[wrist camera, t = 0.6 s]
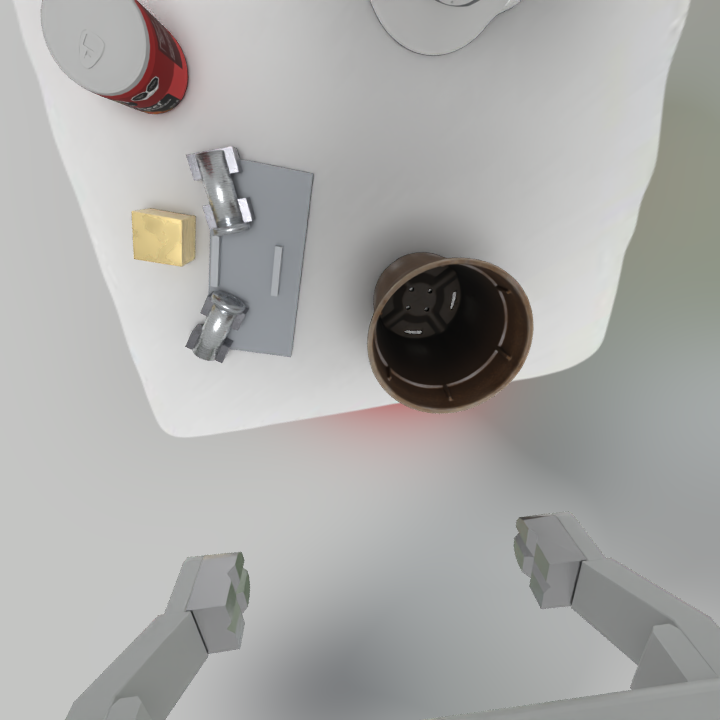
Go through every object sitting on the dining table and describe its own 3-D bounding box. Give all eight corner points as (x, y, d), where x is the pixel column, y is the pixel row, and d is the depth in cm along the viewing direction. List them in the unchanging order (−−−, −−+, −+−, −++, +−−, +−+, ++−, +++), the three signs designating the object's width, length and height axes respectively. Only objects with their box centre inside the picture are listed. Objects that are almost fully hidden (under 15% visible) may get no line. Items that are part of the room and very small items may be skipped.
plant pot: (360, 358, 55) (372, 422, 41) (351, 241, 49) (362, 266, 34) (472, 347, 56) (524, 406, 42) (479, 230, 49) (543, 250, 35)
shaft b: (226, 355, 52) (218, 369, 48) (191, 339, 51) (180, 352, 47) (251, 303, 50) (245, 314, 46) (215, 285, 49) (205, 294, 44)
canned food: (109, 101, 41) (40, 75, 31) (113, 8, 38) (37, -54, 28) (185, 126, 42) (142, 109, 32) (195, 38, 39) (150, -11, 29)
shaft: (193, 156, 43) (179, 153, 39) (236, 148, 43) (227, 144, 39) (217, 233, 46) (207, 238, 42) (257, 226, 46) (250, 230, 42)
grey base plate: (214, 154, 44) (209, 152, 42) (313, 173, 45) (312, 173, 43) (209, 343, 53) (204, 349, 51) (291, 354, 54) (290, 360, 52)
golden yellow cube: (150, 208, 45) (131, 211, 41) (195, 216, 46) (181, 219, 42) (152, 251, 47) (133, 259, 43) (195, 258, 48) (181, 266, 44)
